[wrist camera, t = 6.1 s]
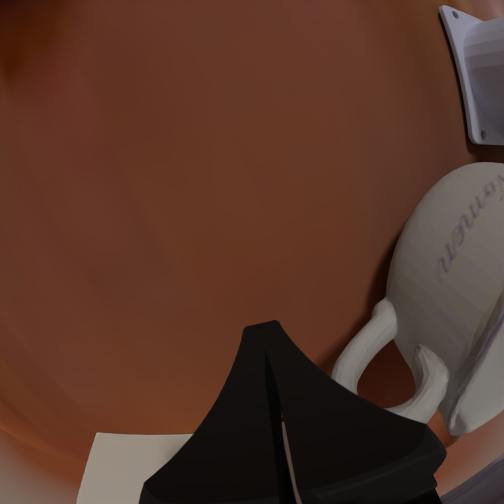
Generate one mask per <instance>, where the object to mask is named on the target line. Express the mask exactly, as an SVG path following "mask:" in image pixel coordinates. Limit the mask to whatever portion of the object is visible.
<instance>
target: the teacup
mask: <svg viewBox="0 0 504 504" xmlns="http://www.w3.org/2000/svg"><path fill="white" fill-rule="evenodd" d="M393 339H394V341H395V344H396V346H397V347H398V349H399V351H400V353H401V355H402V356H403V358H404V360H405V361H406V363H407V364H408V366H409V368H410V369H411V371H412V373H413V377H414V380H415V384H416V390H415V393H414V395H413V396H412V397H411V398H410V399H409V400H407V401H406V402H405V403H403V404H401V405H398V406H395V407H391V408H384V409H386V410H388V411H391V412H393V413H395V414H398V415H401V416H403V417H406V418H409V419H412V420H415V421H418V422H422V423H425V424H426V423H427V422H428V421H429V420H430V418H431V417H432V416H433V414H434V413H435V411H436V410H437V409H438V411H439V412H440V414H441V415H442V417H443V419H444V422H445V427H446V429H447V431H448V432H449V434H451V435H453V436H460V435H462V434H465V433H469V432H472V431H473V430H474V429H476V428H478V427H480V426H482V425H483V424H485V423H486V422H488V421H489V420H491V419H492V418H494V417H495V416H496V415H497V414H499V413H500V412H501V411H502V410H503V409H504V164H502V163H493V162H480V163H473V164H468V165H465V166H462V167H460V168H458V169H456V170H454V171H452V172H450V173H449V174H447V175H446V176H444V177H443V178H442V179H440V180H439V181H438V182H437V183H436V184H435V185H434V186H433V187H432V188H431V189H430V190H429V191H428V192H427V193H426V194H425V196H424V197H423V198H422V199H421V201H420V202H419V203H418V205H417V206H416V207H415V209H414V211H413V212H412V214H411V216H410V217H409V219H408V221H407V222H406V224H405V226H404V228H403V231H402V233H401V235H400V237H399V239H398V242H397V245H396V247H395V250H394V254H393V257H392V260H391V264H390V268H389V272H388V279H387V285H386V297H385V298H384V299H383V300H381V301H380V302H378V303H377V304H376V305H375V307H374V309H373V311H372V315H371V320H370V321H369V322H368V323H367V324H366V325H365V326H364V327H363V328H362V329H361V330H360V331H359V332H358V333H357V334H356V336H355V337H354V338H353V339H352V340H351V341H350V342H349V343H348V344H347V346H346V347H345V349H344V350H343V352H342V353H341V355H340V356H339V357H338V359H337V360H336V362H335V364H334V367H333V370H332V373H331V375H330V377H331V378H332V379H334V380H335V381H336V382H338V383H339V384H341V385H342V386H344V387H345V388H347V389H348V390H350V391H351V392H353V393H355V394H356V395H358V394H357V384H358V380H359V378H360V376H361V374H362V373H363V371H364V369H365V368H366V366H367V365H368V363H369V362H370V361H371V360H372V359H373V357H374V356H375V355H376V354H377V353H378V352H379V351H380V350H381V349H382V348H383V347H384V346H385V345H386V344H387V343H388V342H390V341H391V340H393Z"/></svg>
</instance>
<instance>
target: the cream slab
mask: <svg viewBox="0 0 504 504" xmlns="http://www.w3.org/2000/svg"><path fill="white" fill-rule="evenodd" d="M282 430H283V439H284V446H285V451H286V456H287V461H288V465H289V470H290V474H291V479H292V484H293V488H294V493H295V497H296V502H297V504H302V502H301V499H300V496H299V494H298V491H297V488H296V482H295V477H294V471H293V466H292V460H291V455H290V450H289V445H288V439H287V434H286V429H285V424H284V422H282ZM192 435H193V434H175V435H130V434H111V433H98V432H97V433H96V436H95V439H94V442H93V445H92V449H91V452H90V455H89V458H88V462H87V465H86V468H85V472H84V475H83V479H82V483H81V486H80V490H79V494H78V498H77V502H76V504H139V498H140V494H141V491H142V488H143V484H144V482H145V481H146V480H147V479H148V478H150V477H151V476H152V475H153V474H154V473H156V472H157V471H158V470H159V469H160V468H161V467H162V466H163V465H165V464H166V463H167V462H168V461H169V460H170V459H171V458H172V457H173V456H174V455H175V454H176V453H177V452H178V451H179V450H180V448H181V447H182V446H183V445H184V444H185V443H186V442H187V441H188V439H189V438H190V437H191V436H192Z"/></svg>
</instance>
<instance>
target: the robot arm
mask: <svg viewBox="0 0 504 504" xmlns="http://www.w3.org/2000/svg"><path fill="white" fill-rule="evenodd" d="M439 12H440V15H441V17H442V20H443V23H444V26H445V29H446V32H447V35H448V38H449V41H450V44H451V48H452V51H453V55H454V59H455V62H456V66H457V70H458V75H459V79H460V84H461V89H462V94H463V99H464V105H465V112H466V119H467V127H468V135H469V138H470V140H471V142H472V143H474V144H487V145H504V17H500V18H496V19H492V20H488V21H485V22H483V21H481V20H479V19H477V18H475V17H473V16H470V15H468V14H466V13H463V12H461V11H459V10H456V9H454V8H451V7H448V6H445V5H444V6H441V7H440V8H439ZM280 408H281V411H282V414H283V419H284V424H285V429H286V434H287V439H288V445H289V450H290V455H291V460H292V466H293V471H294V477H295V482H296V488H297V491H298V494H299V496H300V499H301V502H302V504H504V453H503V454H501V455H500V456H499V457H498V458H497V459H495V460H494V461H493V462H491V463H490V464H489V465H488V466H486V467H485V468H484V469H482V470H481V471H479V472H478V473H477V474H475V475H474V476H472V477H471V478H470V479H468V480H467V481H465V482H464V483H462V484H461V485H459V486H457V487H456V488H454V489H453V490H451V491H449V492H448V493H446V494H444V495H443V496H441V497H439V496H438V494H437V492H436V490H435V487H436V486H437V482H436V480H435V478H434V476H433V474H434V473H435V472H436V471H437V469H438V468H439V467H440V465H441V464H442V463H443V461H444V459H445V457H446V455H447V453H446V449H445V448H444V446H443V444H442V443H441V441H440V440H439V438H438V437H437V436H436V435H435V433H434V432H433V431H432V430H431V429H430V428H429V427H428V426H427V424H425V423H422V422H418V421H415V420H412V419H409V418H406V417H403V416H401V415H398V414H395V413H393V412H391V411H388V410H386V409H384V408H381V407H379V406H377V405H375V404H373V403H371V402H369V401H368V400H366V399H364V398H362V397H360V396H358V395H356V394H355V393H353V392H351V391H350V390H348V389H347V388H345V387H344V386H342V385H341V384H339V383H338V382H336V381H335V380H334V379H332V378H331V377H329V376H328V375H327V374H326V373H324V372H323V371H322V370H321V369H320V368H318V367H317V366H316V365H315V364H314V363H313V362H312V361H311V360H310V359H309V358H308V357H306V356H305V355H304V353H303V352H302V351H301V350H300V349H299V348H298V347H297V346H296V345H295V344H294V343H293V341H292V340H291V339H290V338H289V337H288V335H287V334H286V333H285V331H284V330H283V328H282V327H281V325H280V323H279V322H278V321H276V320H273V321H269V322H265V323H260V324H256V325H252V326H247V327H245V328H244V330H243V335H242V339H241V343H240V346H239V350H238V353H237V356H236V358H235V361H234V364H233V366H232V369H231V371H230V374H229V376H228V378H227V380H226V382H225V384H224V386H223V389H222V391H221V392H220V394H219V396H218V398H217V400H216V401H215V403H214V405H213V406H212V408H211V410H210V411H209V413H208V414H207V416H206V417H205V419H204V420H203V421H202V423H201V424H200V426H199V427H198V428H197V430H196V431H195V432H194V434H193V435H192V436H191V437H190V438H189V439H188V441H187V442H186V443H185V444H184V445H183V446H182V447H181V448H180V450H179V451H178V452H177V453H176V454H175V455H174V456H173V457H172V458H171V459H170V460H169V461H168V462H167V463H166V464H165V465H163V466H162V467H161V468H160V469H159V470H158V471H157V472H156V473H154V474H153V475H152V476H151V477H150V478H148V479H147V480H146V481H145V482H144V484H143V488H142V491H141V494H140V498H139V504H297V502H296V497H295V493H294V488H293V484H292V479H291V474H290V470H289V465H288V461H287V456H286V451H285V446H284V439H283V430H282V420H281V411H280Z"/></svg>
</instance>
